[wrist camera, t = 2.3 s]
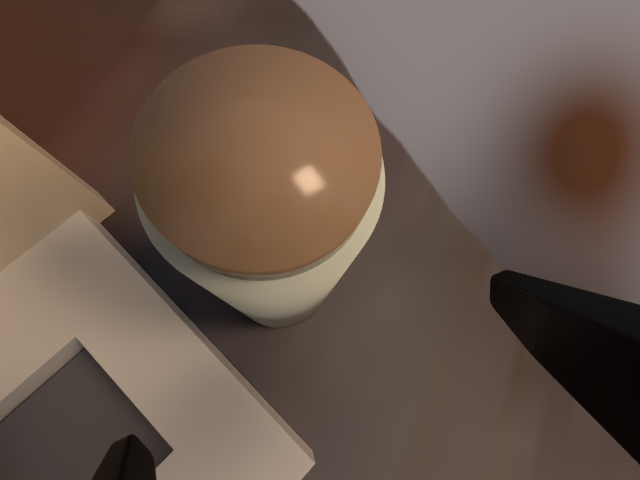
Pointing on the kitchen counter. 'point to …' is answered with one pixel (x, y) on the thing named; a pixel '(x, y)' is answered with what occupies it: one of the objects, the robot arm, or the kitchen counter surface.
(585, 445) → the kitchen counter surface
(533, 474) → the kitchen counter surface
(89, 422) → the light wood frame
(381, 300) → the kitchen counter surface
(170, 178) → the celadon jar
